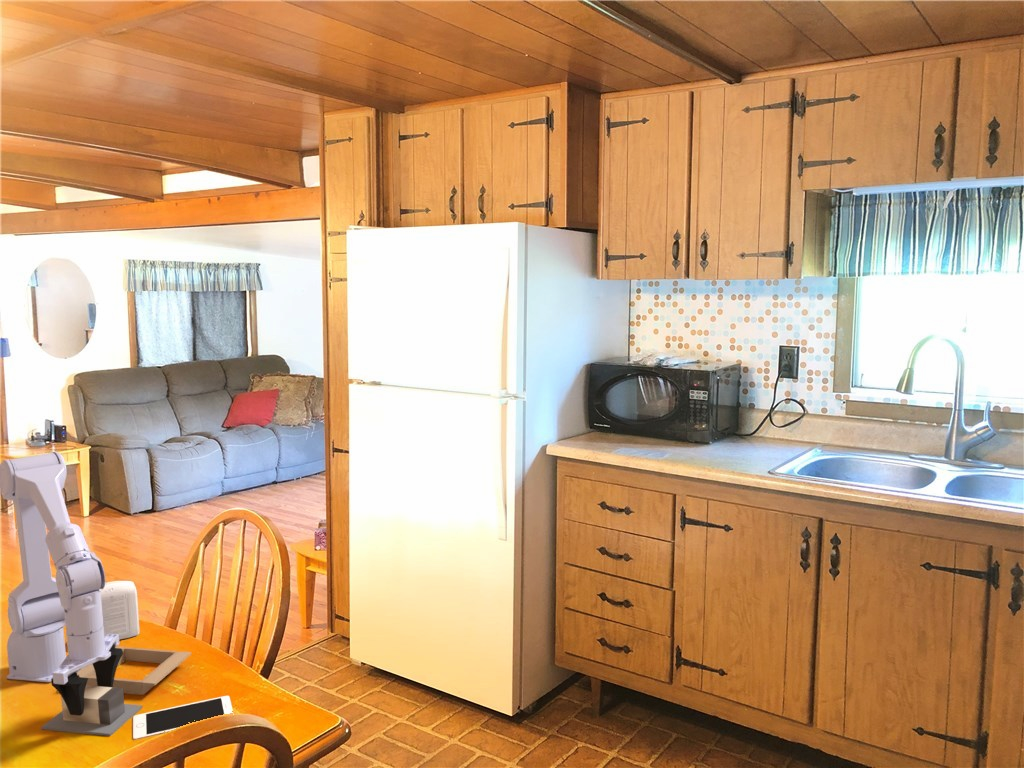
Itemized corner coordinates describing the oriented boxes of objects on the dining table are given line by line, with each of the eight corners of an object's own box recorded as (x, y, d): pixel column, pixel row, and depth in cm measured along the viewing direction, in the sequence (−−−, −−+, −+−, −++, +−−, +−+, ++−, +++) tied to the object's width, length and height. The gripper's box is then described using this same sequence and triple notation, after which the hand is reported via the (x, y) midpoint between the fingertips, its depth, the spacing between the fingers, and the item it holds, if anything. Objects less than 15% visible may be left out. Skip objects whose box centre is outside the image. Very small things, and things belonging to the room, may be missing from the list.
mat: (41, 729, 140) (41, 727, 140) (77, 701, 149) (76, 699, 149) (110, 736, 138) (109, 733, 138) (142, 707, 147) (142, 705, 147)
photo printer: (138, 628, 178) (133, 574, 176) (141, 636, 175) (137, 580, 173) (85, 640, 173) (80, 585, 171) (88, 648, 169) (82, 591, 167)
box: (63, 720, 142) (61, 696, 141) (79, 707, 146) (76, 684, 145) (110, 724, 141) (108, 700, 140) (124, 712, 144) (122, 688, 144)
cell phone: (133, 718, 144) (132, 715, 144) (229, 698, 150) (229, 694, 150) (133, 742, 137) (132, 738, 137) (234, 719, 143) (233, 716, 143)
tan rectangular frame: (71, 688, 153) (70, 676, 153) (113, 657, 165) (112, 646, 165) (155, 696, 150) (154, 683, 150) (191, 664, 162) (191, 652, 162)
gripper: (77, 649, 133) (84, 727, 135) (132, 612, 147) (137, 682, 149) (38, 646, 134) (46, 723, 136) (96, 609, 148) (102, 679, 150)
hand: (91, 702), depth 143 cm, fingers open, 7 cm apart
